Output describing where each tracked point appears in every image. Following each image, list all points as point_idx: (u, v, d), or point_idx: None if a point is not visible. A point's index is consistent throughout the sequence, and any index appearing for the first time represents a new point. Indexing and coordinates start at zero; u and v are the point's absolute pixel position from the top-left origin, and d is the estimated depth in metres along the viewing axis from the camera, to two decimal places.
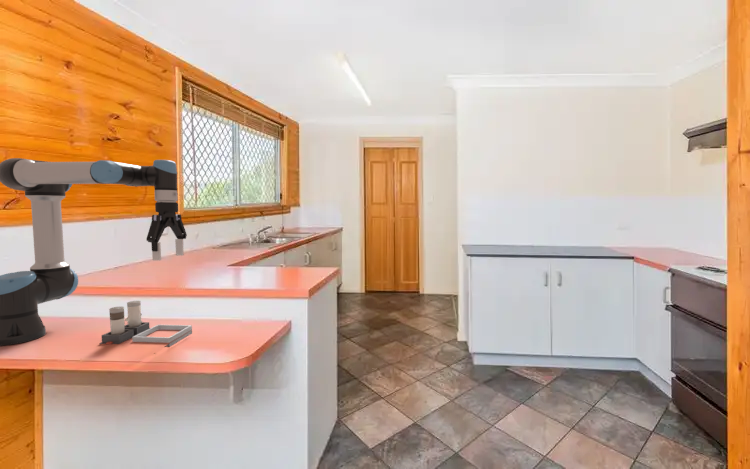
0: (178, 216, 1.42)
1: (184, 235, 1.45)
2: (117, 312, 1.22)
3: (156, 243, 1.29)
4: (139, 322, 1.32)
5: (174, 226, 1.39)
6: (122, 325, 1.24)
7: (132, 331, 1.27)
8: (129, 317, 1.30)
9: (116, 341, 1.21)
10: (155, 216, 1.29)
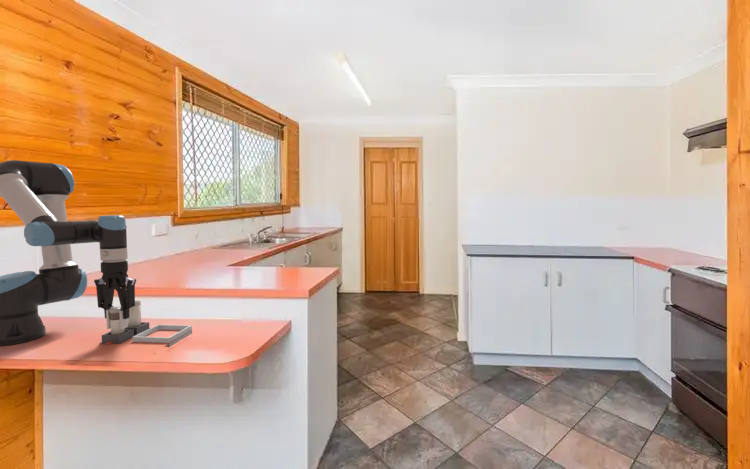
0: None
1: (126, 305, 1.22)
2: (117, 312, 1.22)
3: None
4: (139, 322, 1.32)
5: None
6: None
7: (132, 331, 1.27)
8: (129, 317, 1.30)
9: (116, 341, 1.21)
10: None
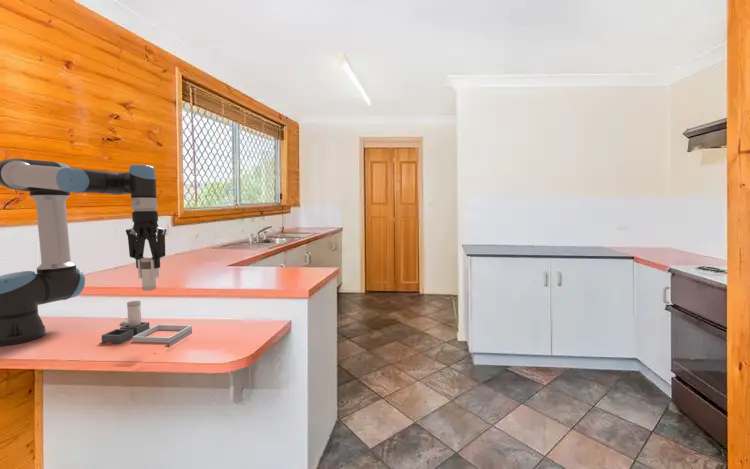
0: None
1: (157, 254, 1.23)
2: (148, 261, 1.23)
3: (137, 260, 1.25)
4: (139, 322, 1.32)
5: None
6: None
7: (132, 331, 1.27)
8: (129, 317, 1.30)
9: (116, 341, 1.21)
10: None
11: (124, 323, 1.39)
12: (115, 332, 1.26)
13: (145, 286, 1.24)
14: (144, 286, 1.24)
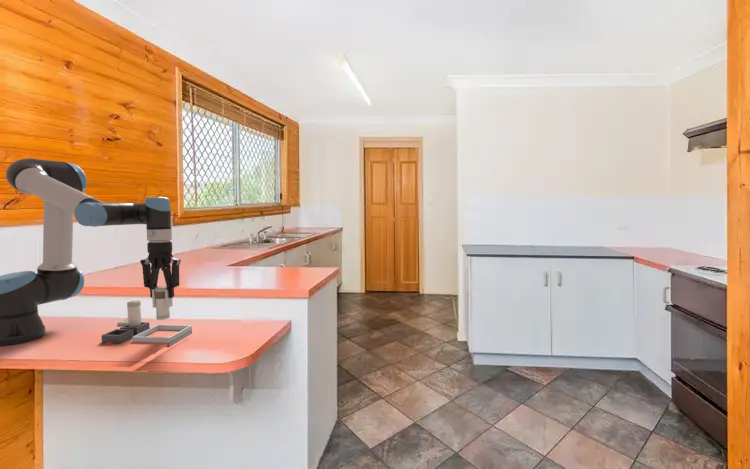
0: None
1: (172, 284, 1.26)
2: (163, 291, 1.26)
3: (151, 289, 1.27)
4: (139, 322, 1.32)
5: None
6: None
7: (132, 331, 1.27)
8: (129, 317, 1.30)
9: (116, 341, 1.21)
10: None
11: (121, 323, 1.39)
12: (115, 332, 1.26)
13: (160, 316, 1.26)
14: (158, 315, 1.26)
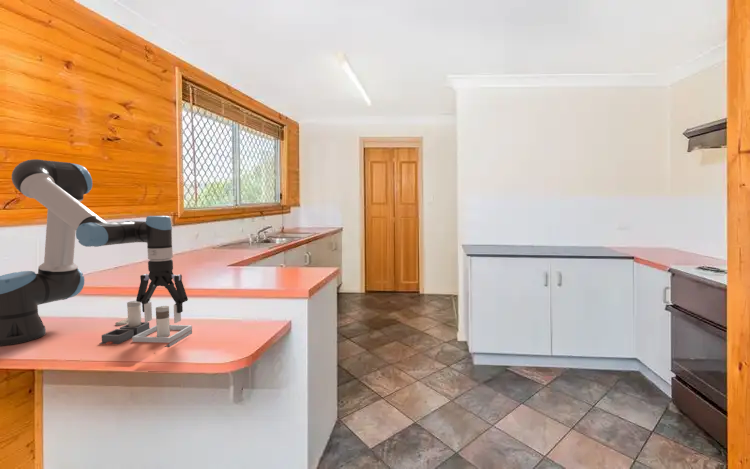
0: None
1: (180, 300, 1.26)
2: (163, 311, 1.26)
3: (143, 304, 1.27)
4: (139, 322, 1.32)
5: None
6: (167, 324, 1.28)
7: (132, 331, 1.27)
8: (129, 317, 1.30)
9: (116, 341, 1.21)
10: None
11: (118, 323, 1.39)
12: (115, 332, 1.26)
13: (160, 335, 1.27)
14: (158, 335, 1.27)
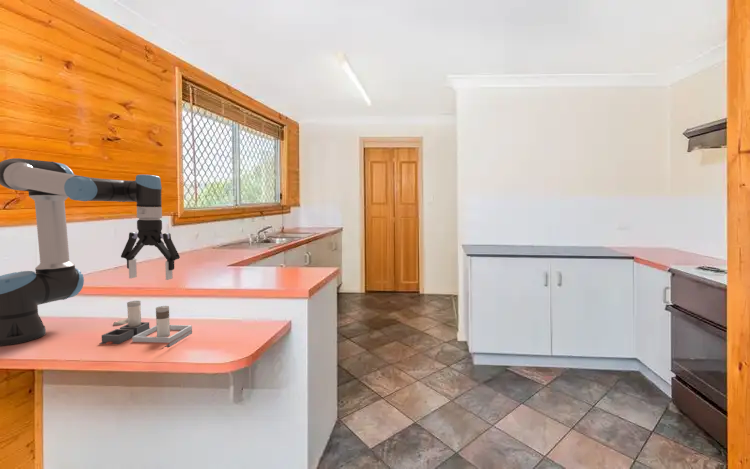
0: None
1: (172, 257, 1.26)
2: (163, 311, 1.26)
3: (128, 260, 1.28)
4: (139, 322, 1.32)
5: None
6: (167, 324, 1.28)
7: (132, 331, 1.27)
8: (129, 317, 1.30)
9: (116, 341, 1.21)
10: None
11: (115, 323, 1.39)
12: (115, 332, 1.26)
13: (160, 336, 1.27)
14: (158, 335, 1.27)
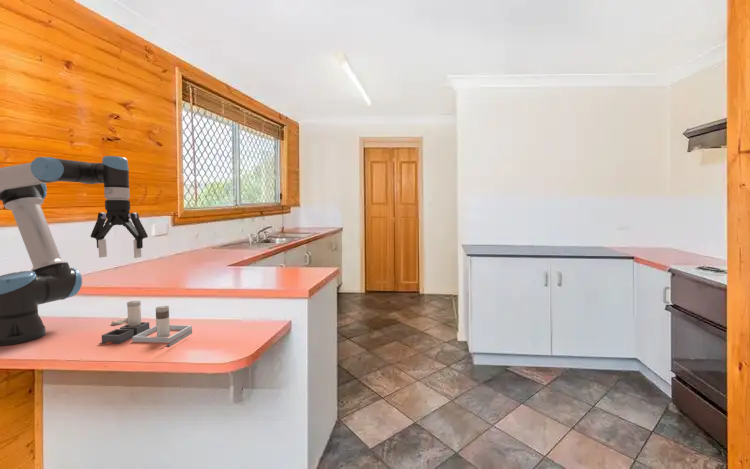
0: None
1: (140, 236, 1.31)
2: (163, 311, 1.26)
3: None
4: (139, 322, 1.32)
5: None
6: (167, 324, 1.28)
7: (132, 331, 1.27)
8: (129, 317, 1.30)
9: (116, 341, 1.21)
10: None
11: (113, 323, 1.40)
12: (115, 332, 1.26)
13: (160, 336, 1.27)
14: (158, 335, 1.27)
